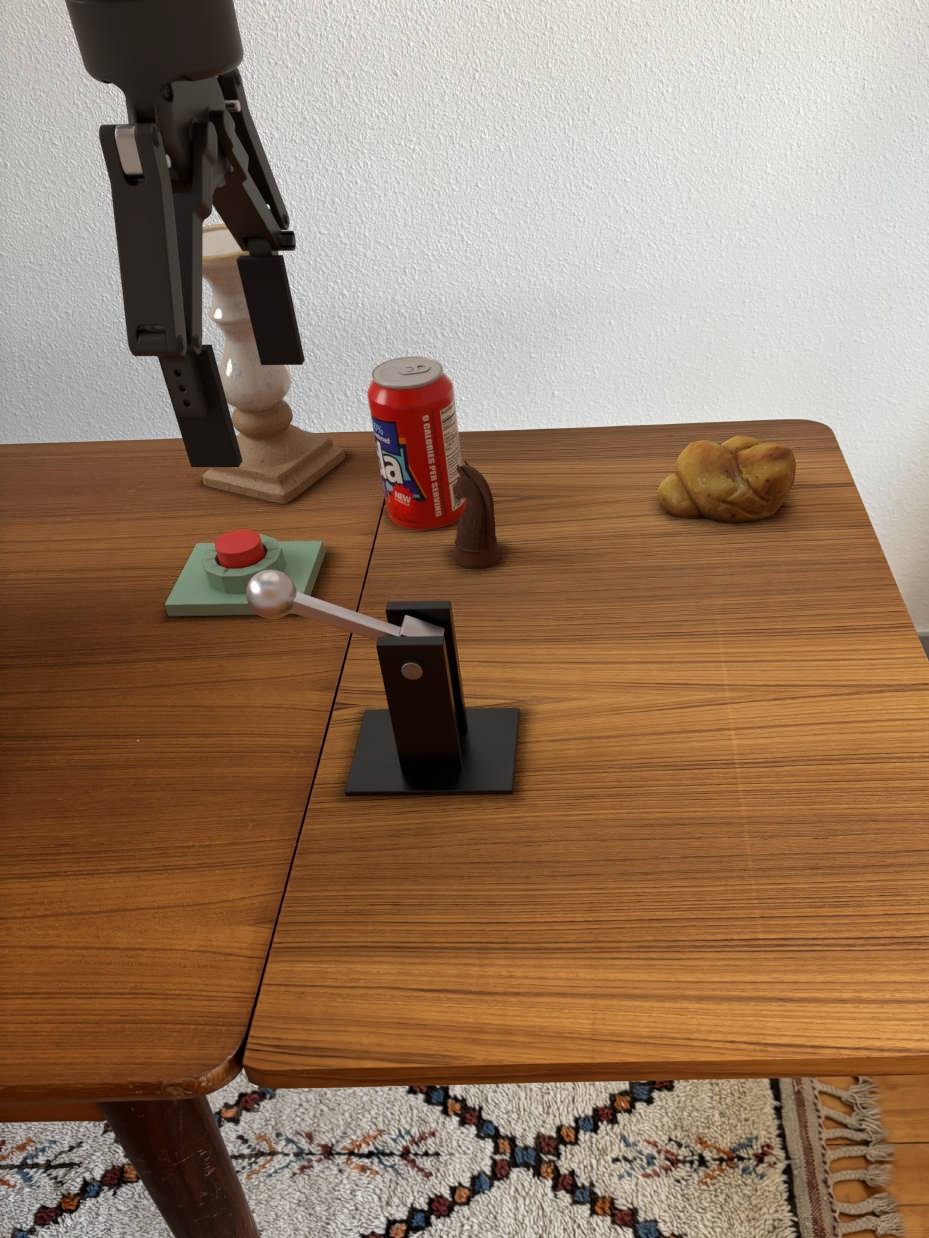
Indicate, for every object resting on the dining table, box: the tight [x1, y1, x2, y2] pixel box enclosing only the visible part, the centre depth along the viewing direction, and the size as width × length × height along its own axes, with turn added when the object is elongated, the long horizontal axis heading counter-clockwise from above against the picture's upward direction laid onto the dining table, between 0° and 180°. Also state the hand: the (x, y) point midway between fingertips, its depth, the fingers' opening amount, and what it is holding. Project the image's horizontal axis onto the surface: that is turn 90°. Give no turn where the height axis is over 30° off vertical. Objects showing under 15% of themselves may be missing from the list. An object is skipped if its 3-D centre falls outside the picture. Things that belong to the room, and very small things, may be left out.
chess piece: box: [452, 460, 502, 570], centre depth 95 cm, size 5×5×10 cm
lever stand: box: [344, 600, 521, 797], centre depth 74 cm, size 12×9×13 cm
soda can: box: [366, 355, 468, 531], centre depth 100 cm, size 8×8×15 cm
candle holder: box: [201, 223, 346, 505], centre depth 104 cm, size 11×11×24 cm
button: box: [214, 528, 265, 569], centre depth 93 cm, size 4×4×2 cm
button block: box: [164, 533, 326, 617], centre depth 95 cm, size 12×10×4 cm
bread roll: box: [656, 434, 797, 523], centre depth 101 cm, size 13×10×8 cm
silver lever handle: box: [246, 570, 444, 642], centre depth 70 cm, size 13×3×3 cm, turn 89°
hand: (252, 409), depth 63 cm, fingers open, 13 cm apart
